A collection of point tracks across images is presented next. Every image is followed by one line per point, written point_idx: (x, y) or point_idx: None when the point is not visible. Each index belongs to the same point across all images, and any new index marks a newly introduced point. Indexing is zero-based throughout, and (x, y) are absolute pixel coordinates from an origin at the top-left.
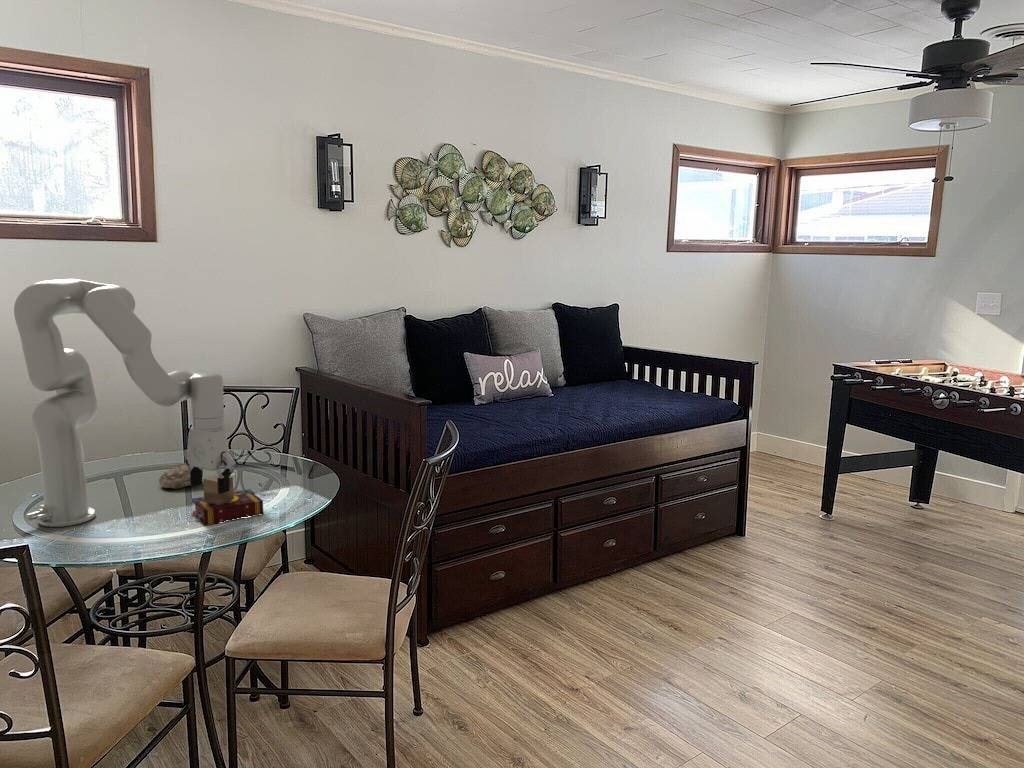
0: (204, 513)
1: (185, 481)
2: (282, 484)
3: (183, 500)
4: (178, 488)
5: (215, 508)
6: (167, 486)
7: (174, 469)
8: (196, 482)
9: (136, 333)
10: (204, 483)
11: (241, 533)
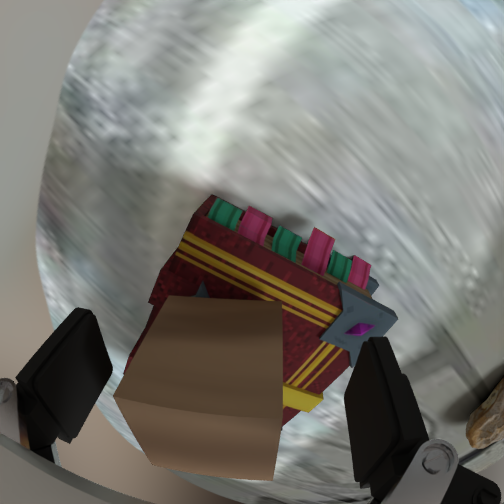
0: (197, 210)
1: (494, 402)
2: (290, 480)
3: (467, 345)
4: (501, 380)
5: (175, 269)
6: None
7: None
8: (361, 382)
9: None
10: (271, 388)
11: (50, 207)
